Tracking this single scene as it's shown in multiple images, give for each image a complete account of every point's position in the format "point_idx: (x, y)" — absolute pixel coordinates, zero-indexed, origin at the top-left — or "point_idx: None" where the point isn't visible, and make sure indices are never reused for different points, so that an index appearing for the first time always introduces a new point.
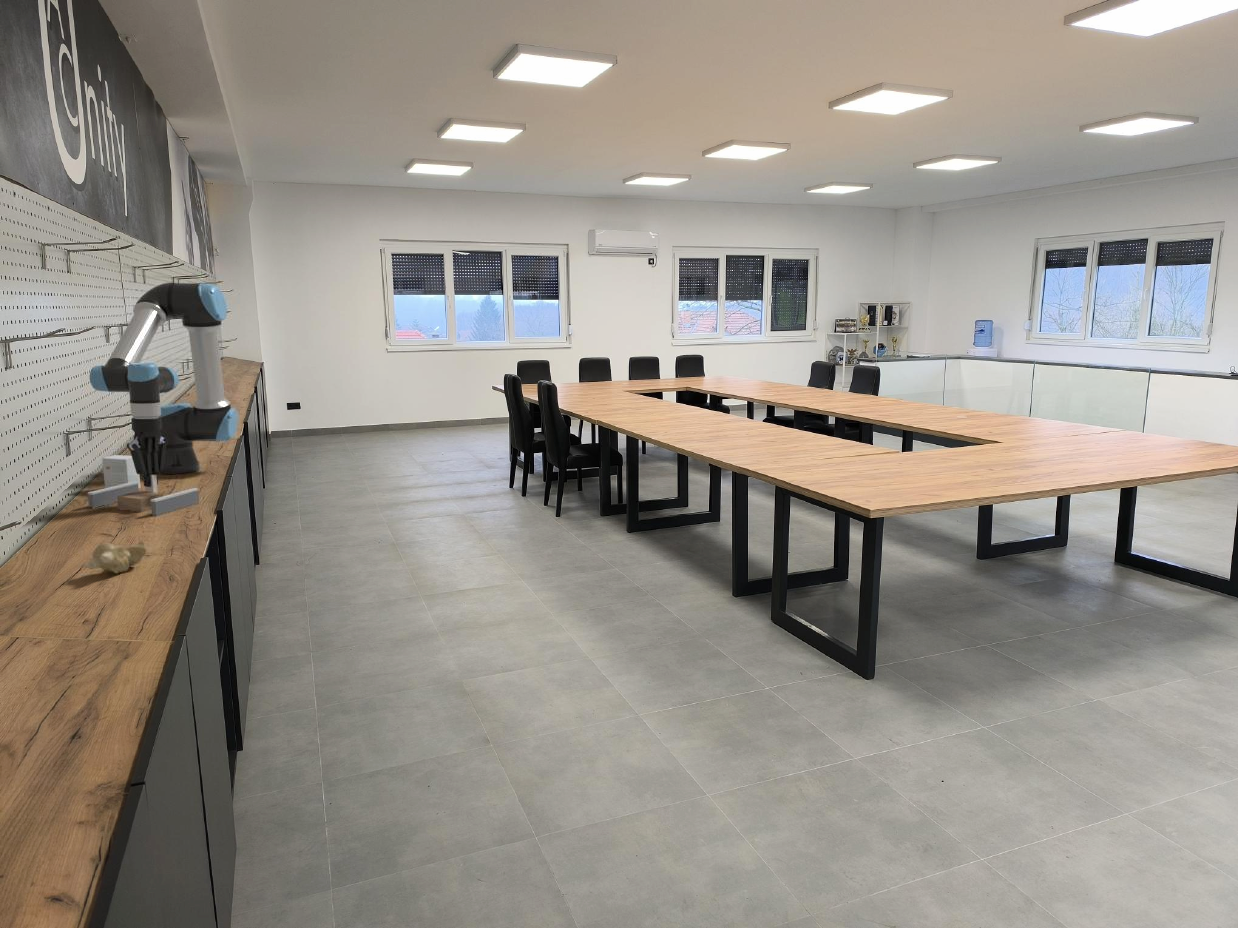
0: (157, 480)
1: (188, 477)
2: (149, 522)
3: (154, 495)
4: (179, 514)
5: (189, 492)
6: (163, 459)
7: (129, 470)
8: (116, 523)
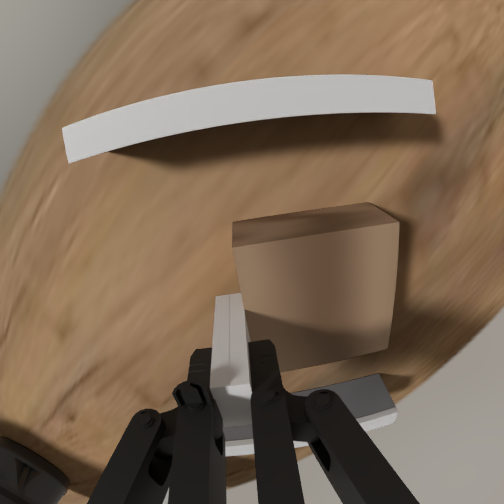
0: (192, 367)
1: (16, 425)
2: (451, 48)
3: (301, 236)
4: (314, 19)
5: (140, 102)
6: (109, 481)
7: (166, 500)
8: (496, 147)
